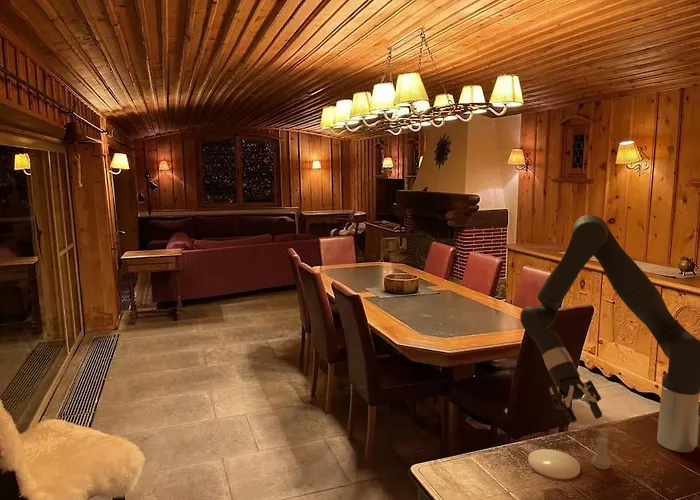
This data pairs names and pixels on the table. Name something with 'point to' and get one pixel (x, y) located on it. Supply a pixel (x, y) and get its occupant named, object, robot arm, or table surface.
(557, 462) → the cream plate
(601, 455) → the rook chess piece
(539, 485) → the table surface
